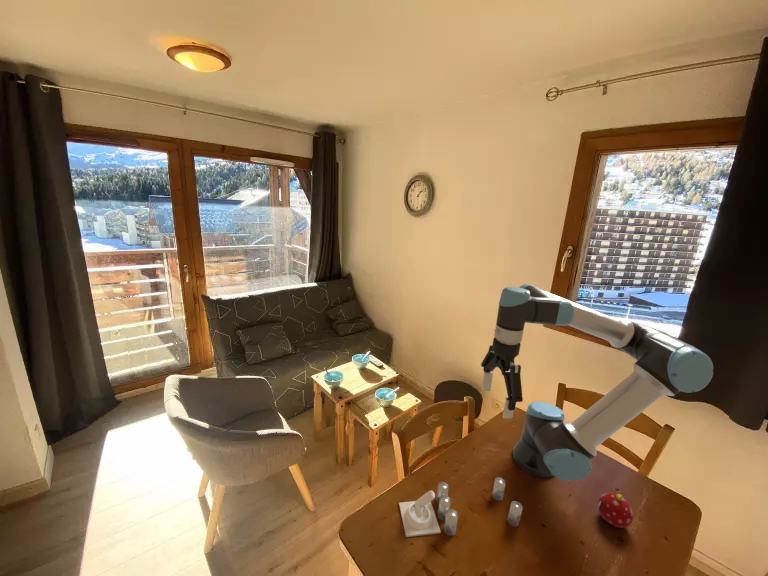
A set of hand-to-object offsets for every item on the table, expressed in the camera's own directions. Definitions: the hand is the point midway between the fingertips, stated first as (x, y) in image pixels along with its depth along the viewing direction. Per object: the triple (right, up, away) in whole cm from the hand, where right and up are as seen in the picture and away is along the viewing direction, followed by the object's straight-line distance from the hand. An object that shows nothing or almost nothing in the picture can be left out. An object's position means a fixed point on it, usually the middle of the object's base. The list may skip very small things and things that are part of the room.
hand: (495, 403), depth 98 cm
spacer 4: (+2, -32, +5) cm, 32 cm away
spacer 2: (-17, -33, -3) cm, 37 cm away
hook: (-24, -32, -4) cm, 41 cm away
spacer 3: (-16, -34, -7) cm, 38 cm away
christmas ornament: (+35, -36, -1) cm, 50 cm away
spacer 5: (+4, -34, -3) cm, 34 cm away
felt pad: (-24, -33, -4) cm, 41 cm away
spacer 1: (-17, -31, +1) cm, 36 cm away
